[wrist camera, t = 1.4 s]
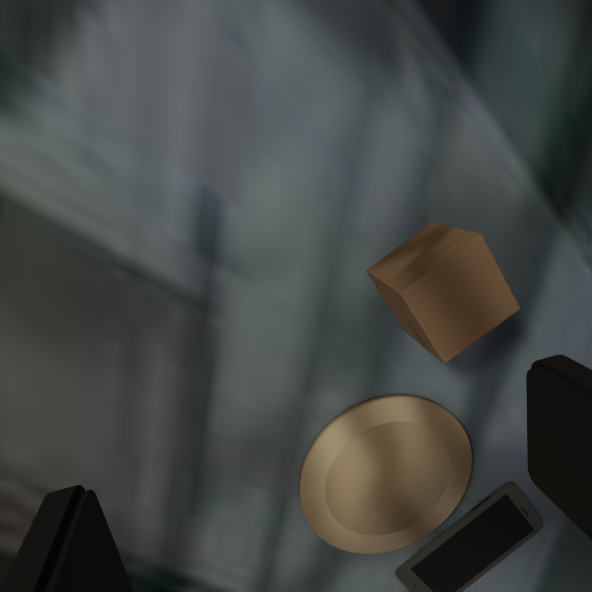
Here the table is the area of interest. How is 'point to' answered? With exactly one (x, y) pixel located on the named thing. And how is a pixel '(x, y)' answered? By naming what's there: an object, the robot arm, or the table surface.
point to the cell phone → (473, 543)
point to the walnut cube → (444, 288)
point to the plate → (384, 473)
